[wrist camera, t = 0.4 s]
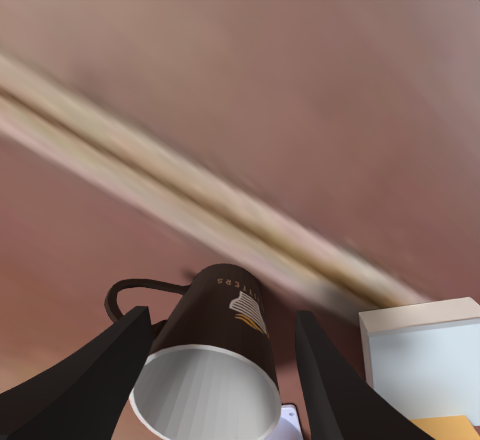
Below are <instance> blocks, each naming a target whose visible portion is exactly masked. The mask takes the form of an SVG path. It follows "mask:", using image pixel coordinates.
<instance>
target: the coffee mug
mask: <svg viewBox="0 0 480 440" xmlns="http://www.w3.org/2000/svg"><path fill="white" fill-rule="evenodd" d="M134 287H146V288H152V289H157V290H163V291H168V292H173V293H178V294H181V295H183V297H182V298H181V300H180V301H179V303H178V304H177V306H176V307H175V309H174V310H173V312H172V313H171V315H170V317H169V318H168V320H163V321H160V322H158V323H156V324H154V325H152V331H153V337H154V341H153V344H152V347H151V350H150V353H149V355H148V358H147V361H146V363H145V365H144V367H143V369H142V371H141V373H140V375H139V377H138V379H137V381H136V383H135V386H134V388H133V390H132V392H131V394H130V396H129V399H130V404H131V406H132V408H133V410H134V412H135V414H136V415H137V417H138V418H139V419H140V421H141V422H142V423H143V424H144V425H145V426H146V427H147V428H148V429H149V430H150V431H152V432H153V433H155V434H156V435H157V436H159V437H160V438H162V439H164V440H263V439H265V438H266V437H267V436H268V435H270V434H271V432H272V431H273V430H274V428H275V427H276V426H277V424H278V421H279V419H280V416H281V408H282V404H281V398H280V393H279V388H278V382H277V377H276V371H275V366H274V360H273V355H272V350H271V344H270V339H269V333H268V328H267V323H266V317H265V312H264V306H263V301H262V296H261V290H260V286H259V284H258V282H257V280H256V279H255V278H254V276H253V275H251V274H250V273H249V272H248V271H246V270H245V269H243V268H241V267H239V266H236V265H232V264H215V265H212V266H209V267H207V268H205V269H203V270H202V271H201V272H199V273H198V274H197V276H196V277H195V278H194V280H193V281H192V283H191V285H187V286H180V285H174V284H170V283H166V282H161V281H156V280H150V279H127V280H122V281H119V282H117V283H116V284H114V285H113V286H112V288H111V289H110V290H109V292H108V294H107V296H106V299H105V303H104V305H105V309H106V312H107V314H108V316H109V317H110V319H111V320H112V321H113V323H115V322H116V321H118V320H119V319H120V318H121V317H123V316H124V315H123V314H122V313H121V311H120V309H119V307H118V305H117V301H116V300H117V293H118V292H119V291H121V290H123V289H126V288H134Z"/></svg>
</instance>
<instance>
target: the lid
mask: <svg viewBox="0 0 480 440" xmlns="http://www.w3.org/2000/svg"><path fill="white" fill-rule="evenodd" d="M367 341H368V350H369V360H370V369H371V379H372V388H373V389H374V390H375V391H376V392H377V393H378V394H379V395H380V396H381V397H382V398H383V399H385V400H386V401H387V402H388V403H389V404H390V405H391V406H392V407H394V408H395V409H396V410H397V411H398V412H400V413H401V414H402V415H403V416H405V417H406V418H407V419H408V420H410V421H411V422H412V423H413V424H415V425H416V426H417V427H419V428H420V429H422V430H423V431H424V432H426V433H427V434H429V435H430V436H431V437H433V438H434V439H436V440H480V436H479V435H478V433H477V432H476V430H475V429H474V427H473V426H480V318H478V319H470V320H462V321H454V322H447V323H439V324H431V325H423V326H415V327H407V328H399V329H392V330H384V331H376V332H368V333H367Z"/></svg>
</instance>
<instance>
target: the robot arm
mask: <svg viewBox="0 0 480 440" xmlns="http://www.w3.org/2000/svg"><path fill="white" fill-rule="evenodd" d="M153 341H154V337H153V331H152V325H151V320H150V314H149V308H148V306H136V307H134V308H133V309H132V310H130V311H129V312H128V313H126V314H125V315H124V316H123V317H121V318H120V319H119V320H118V321H116V322H115V323H114V324H113V325H111V326H110V327H109V328H108V329H106V330H105V331H104V332H102V333H101V334H100V335H99V336H97V337H96V338H94V339H93V340H92V341H90V342H89V343H87V344H86V345H85V346H83V347H82V348H81V349H79V350H78V351H76V352H75V353H73V354H72V355H70V356H69V357H67V358H66V359H64V360H62V361H61V362H59V363H58V364H56V365H54V366H53V367H51V368H49V369H47V370H45V371H44V372H42V373H40V374H38V375H36V376H35V377H33V378H31V379H29V380H27V381H26V382H24V383H22V384H20V385H18V386H16V387H14V388H12V389H10V390H8V391H5V392H3V393H1V394H0V440H111V437H112V435H113V432H114V430H115V427H116V424H117V422H118V419H119V417H120V415H121V412H122V410H123V408H124V406H125V404H126V402H127V400H128V398H129V396H130V394H131V392H132V390H133V388H134V386H135V383H136V381H137V379H138V377H139V375H140V373H141V371H142V369H143V367H144V365H145V363H146V361H147V358H148V355H149V353H150V350H151V347H152V344H153ZM295 349H296V358H297V367H298V372H299V377H300V382H301V386H302V391H303V396H304V400H305V405H306V410H307V414H308V419H309V425H310V431H311V439H312V440H436V439H434V438H433V437H431V436H430V435H429V434H427V433H426V432H424V431H423V430H422V429H420V428H419V427H417V426H416V425H415V424H413V423H412V422H411V421H410V420H408V419H407V418H406V417H405V416H403V415H402V414H401V413H400V412H398V411H397V410H396V409H395V408H394V407H392V406H391V405H390V404H389V403H388V402H387V401H386V400H385V399H383V398H382V397H381V396H380V395H379V394H378V393H377V392H376V391H375V390H374V389H373V388H371V387H370V386H369V385H368V384H367V383H366V382H365V381H364V380H363V378H362V377H361V376H360V375H359V374H358V373H357V372H356V371H355V370H354V369H353V368H352V367H351V365H350V364H349V363H348V362H347V361H346V360H345V358H344V357H343V356H342V355H341V354H340V352H339V351H338V350H337V349H336V347H335V346H334V345H333V343H332V342H331V340H330V339H329V338H328V336H327V335H326V334H325V332H324V331H323V329H322V328H321V326H320V325H319V323H318V321H317V320H316V318H315V317H314V315H313V313H312V312H311V311H297V320H296V337H295ZM263 440H303V436H302V432H301V428H300V424H299V420H298V416H297V412H296V408H295V406H294V405H282V408H281V416H280V419H279V421H278V424H277V426H276V427H275V428H274V430H273V431H272V432H271V434H270V435H268V436H267V437H266V438H265V439H263Z"/></svg>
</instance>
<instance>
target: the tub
mask: <svg viewBox="0 0 480 440" xmlns="http://www.w3.org/2000/svg"><path fill="white" fill-rule="evenodd" d="M478 318H480V305H478V304H477V303H476V302H475V301H474V300H473V299H472V298H470V297H465V298H458V299H451V300H444V301H437V302H429V303H422V304H415V305H408V306H401V307H393V308H386V309H379V310H372V311H365V312H359V321H360V329H361V338H362V347H363V356H364V364H365V373H366V382H367V384H368V385H369V386H370V387H371V388H372V379H371V369H370V360H369V350H368V341H367V333H368V332H376V331H384V330H392V329H399V328H407V327H415V326H423V325H431V324H439V323H447V322H454V321H462V320H470V319H478Z"/></svg>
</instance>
